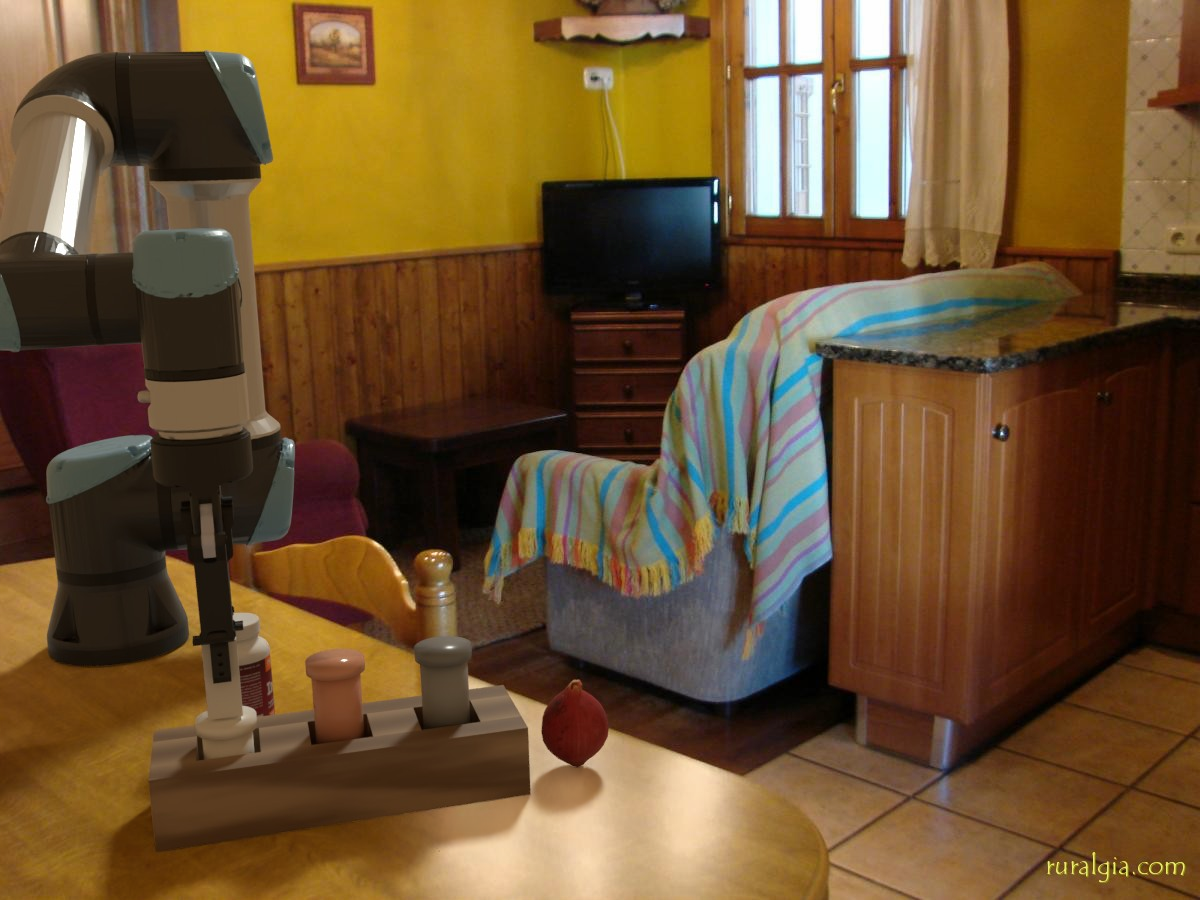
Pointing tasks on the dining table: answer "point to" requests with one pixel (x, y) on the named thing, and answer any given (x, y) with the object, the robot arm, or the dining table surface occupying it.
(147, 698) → the dining table surface
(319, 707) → the plug terracotta
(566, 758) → the onion
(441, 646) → the plug blue-grey
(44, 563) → the dining table surface
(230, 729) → the plug white
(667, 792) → the dining table surface
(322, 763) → the socket block
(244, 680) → the pill bottle
